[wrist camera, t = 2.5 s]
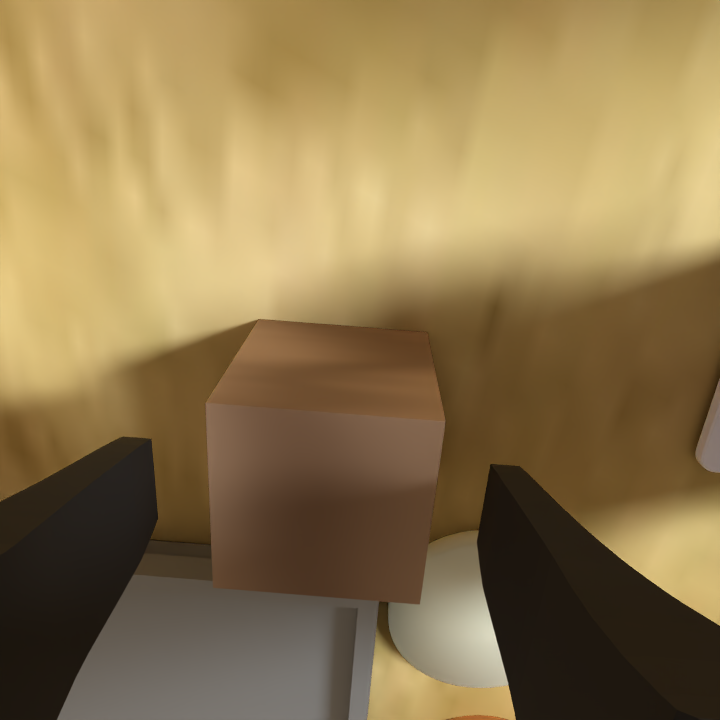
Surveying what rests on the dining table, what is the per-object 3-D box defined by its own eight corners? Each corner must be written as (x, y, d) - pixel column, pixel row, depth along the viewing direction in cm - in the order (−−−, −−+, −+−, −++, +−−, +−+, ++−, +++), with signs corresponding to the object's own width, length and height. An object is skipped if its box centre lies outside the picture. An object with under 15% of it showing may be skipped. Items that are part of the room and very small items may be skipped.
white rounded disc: (590, 533, 18) (601, 555, 17) (549, 669, 20) (557, 696, 19) (398, 514, 18) (399, 536, 17) (379, 653, 20) (379, 678, 19)
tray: (380, 558, 18) (379, 594, 17) (354, 816, 23) (352, 860, 22) (-33, 525, 18) (-68, 558, 17) (31, 788, 23) (9, 830, 22)
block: (427, 331, 15) (445, 421, 11) (409, 473, 17) (420, 604, 12) (259, 318, 15) (205, 402, 11) (259, 461, 17) (212, 588, 12)
